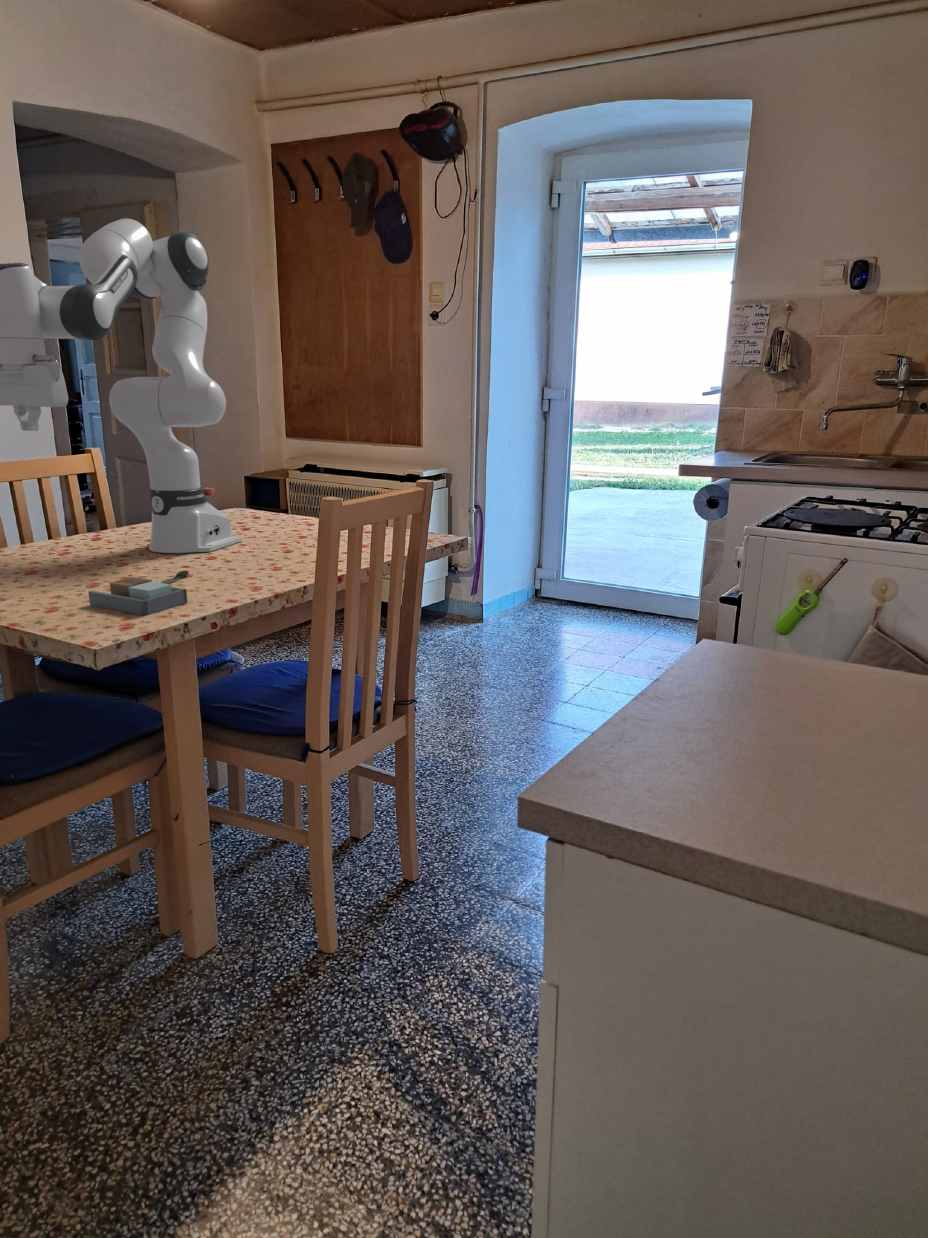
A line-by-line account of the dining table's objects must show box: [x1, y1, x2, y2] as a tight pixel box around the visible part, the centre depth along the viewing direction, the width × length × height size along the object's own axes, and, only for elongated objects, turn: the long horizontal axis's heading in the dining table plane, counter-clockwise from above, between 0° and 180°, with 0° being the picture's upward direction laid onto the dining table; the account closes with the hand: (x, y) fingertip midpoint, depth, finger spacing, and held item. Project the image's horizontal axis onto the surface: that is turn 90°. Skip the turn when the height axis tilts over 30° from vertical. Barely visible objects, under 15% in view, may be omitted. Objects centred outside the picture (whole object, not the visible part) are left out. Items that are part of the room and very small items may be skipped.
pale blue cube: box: [129, 581, 172, 600], centre depth 149 cm, size 5×5×4 cm
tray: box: [87, 586, 188, 616], centre depth 151 cm, size 10×14×2 cm
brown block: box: [109, 576, 153, 597], centre depth 152 cm, size 5×5×4 cm
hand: (30, 430), depth 162 cm, fingers closed
